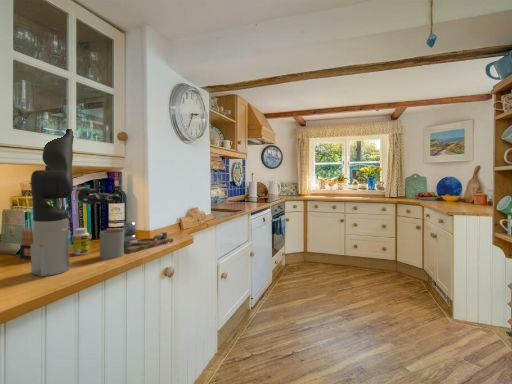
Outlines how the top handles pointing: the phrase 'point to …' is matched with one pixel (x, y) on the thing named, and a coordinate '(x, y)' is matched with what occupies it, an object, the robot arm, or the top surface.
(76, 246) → the supplement bottle
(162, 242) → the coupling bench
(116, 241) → the cup
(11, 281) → the top surface
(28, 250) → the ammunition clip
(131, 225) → the universal joint
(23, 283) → the top surface
